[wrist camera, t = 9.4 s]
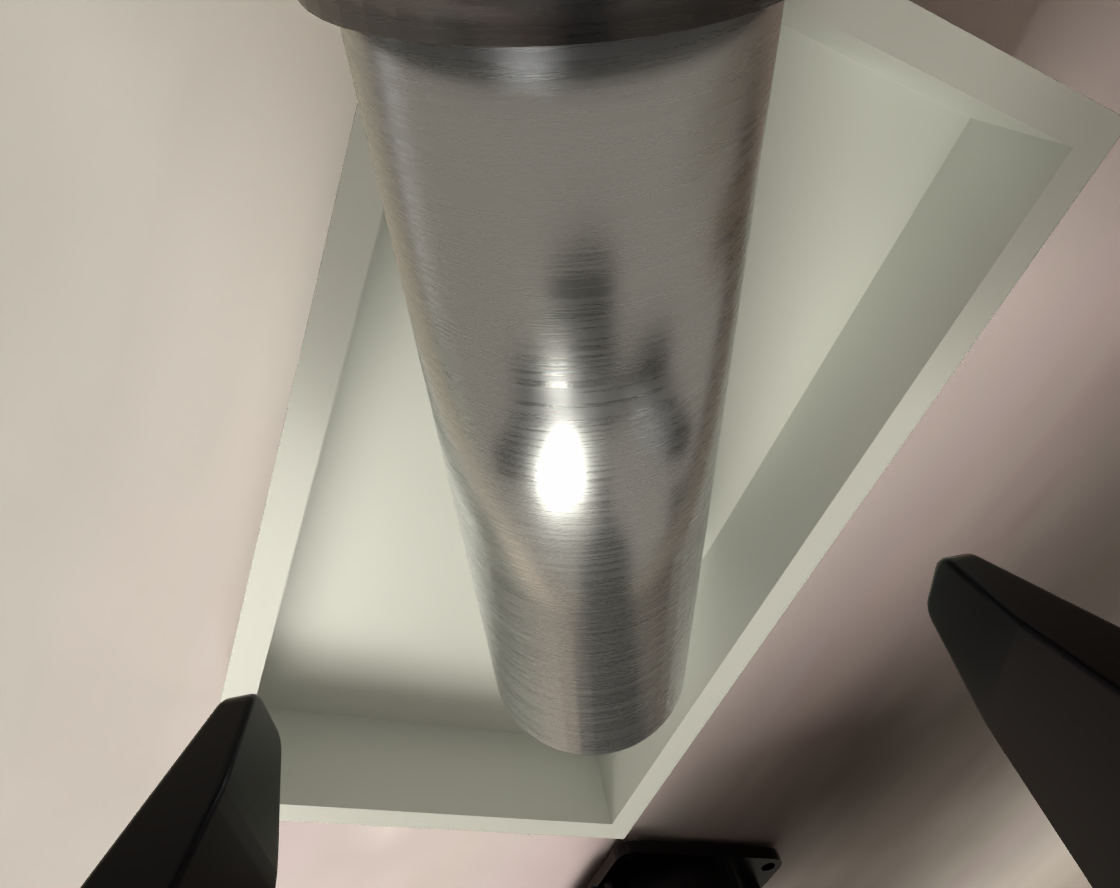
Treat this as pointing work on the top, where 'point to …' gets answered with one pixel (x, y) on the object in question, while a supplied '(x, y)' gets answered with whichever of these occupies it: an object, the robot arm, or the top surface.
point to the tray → (745, 441)
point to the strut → (572, 312)
